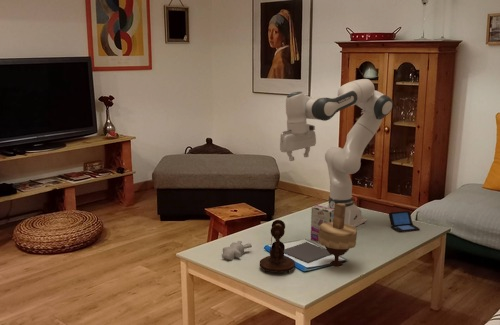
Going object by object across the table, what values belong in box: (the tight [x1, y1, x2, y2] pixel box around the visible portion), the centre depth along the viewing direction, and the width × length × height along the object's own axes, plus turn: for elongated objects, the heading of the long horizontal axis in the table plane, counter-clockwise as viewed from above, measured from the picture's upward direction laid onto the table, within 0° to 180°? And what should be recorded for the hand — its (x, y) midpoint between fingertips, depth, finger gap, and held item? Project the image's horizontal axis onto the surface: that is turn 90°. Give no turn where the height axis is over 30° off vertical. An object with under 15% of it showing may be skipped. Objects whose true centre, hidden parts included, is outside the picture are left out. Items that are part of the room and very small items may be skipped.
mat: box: [284, 241, 333, 264], centre depth 243 cm, size 17×17×1 cm
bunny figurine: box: [221, 240, 253, 261], centre depth 239 cm, size 10×5×15 cm
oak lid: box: [318, 203, 358, 250], centre depth 227 cm, size 15×15×17 cm
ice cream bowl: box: [324, 246, 350, 268], centre depth 229 cm, size 11×11×15 cm
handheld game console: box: [388, 210, 421, 234], centre depth 275 cm, size 12×11×7 cm
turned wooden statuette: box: [259, 219, 296, 274], centre depth 224 cm, size 15×15×20 cm
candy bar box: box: [310, 205, 334, 243], centre depth 255 cm, size 11×5×16 cm, turn 47°
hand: (299, 158), depth 247 cm, fingers open, 8 cm apart
